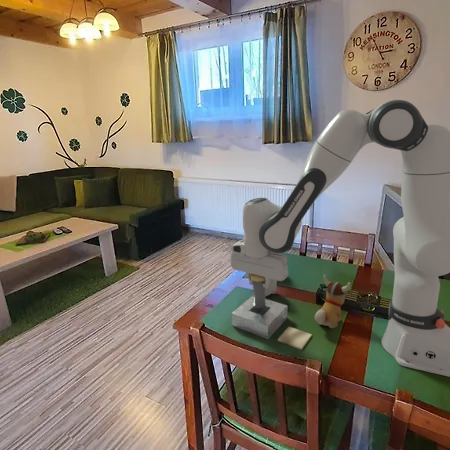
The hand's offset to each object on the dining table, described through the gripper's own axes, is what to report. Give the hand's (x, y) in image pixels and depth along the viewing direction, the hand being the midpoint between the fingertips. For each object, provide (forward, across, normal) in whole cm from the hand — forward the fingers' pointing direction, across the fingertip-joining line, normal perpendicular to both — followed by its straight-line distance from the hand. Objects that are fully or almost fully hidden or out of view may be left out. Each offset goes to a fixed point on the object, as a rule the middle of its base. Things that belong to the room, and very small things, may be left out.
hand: (259, 285), depth 110 cm
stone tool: (+14, +6, -17) cm, 23 cm away
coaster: (+14, -14, +2) cm, 20 cm away
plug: (+7, 0, 0) cm, 7 cm away
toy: (+14, -20, -12) cm, 27 cm away
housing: (+14, 0, 0) cm, 14 cm away
